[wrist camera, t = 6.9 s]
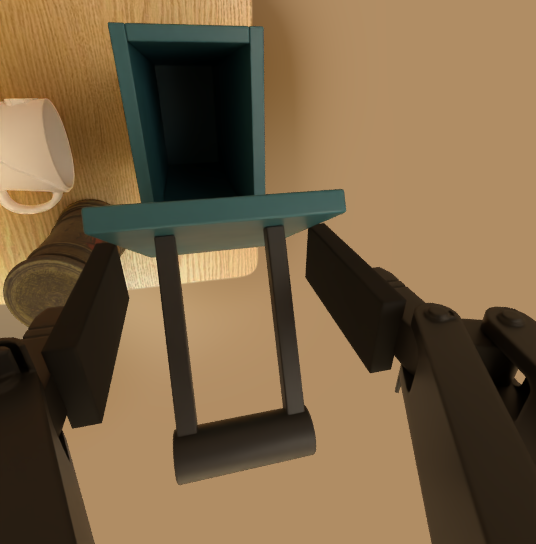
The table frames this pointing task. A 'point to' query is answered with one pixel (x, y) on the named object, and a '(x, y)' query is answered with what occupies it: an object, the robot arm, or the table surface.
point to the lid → (166, 247)
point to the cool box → (193, 108)
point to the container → (51, 266)
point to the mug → (33, 153)
